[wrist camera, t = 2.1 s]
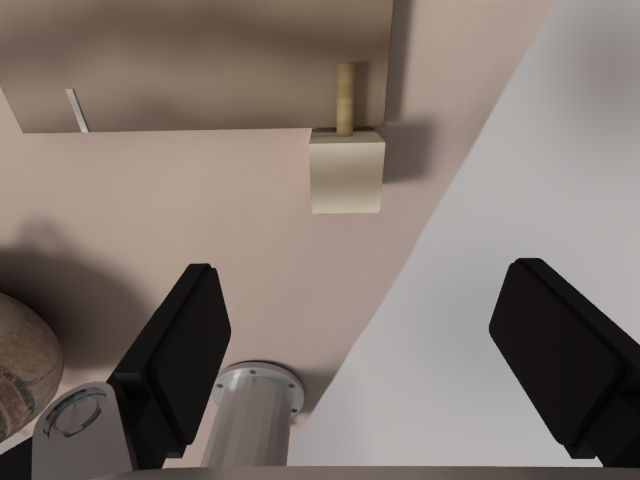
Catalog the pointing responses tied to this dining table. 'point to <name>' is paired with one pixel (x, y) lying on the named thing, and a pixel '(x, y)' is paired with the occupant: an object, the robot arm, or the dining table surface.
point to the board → (191, 63)
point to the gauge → (346, 158)
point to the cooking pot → (25, 365)
